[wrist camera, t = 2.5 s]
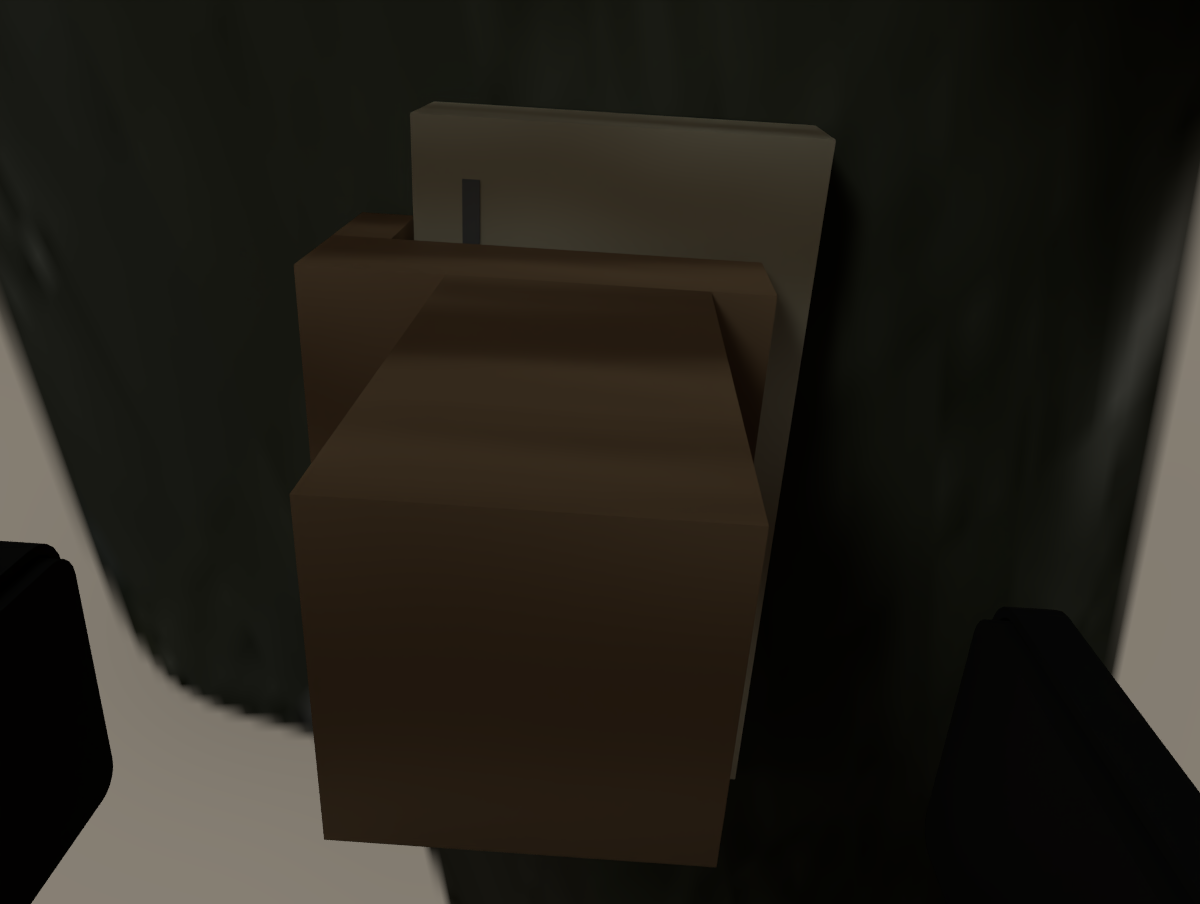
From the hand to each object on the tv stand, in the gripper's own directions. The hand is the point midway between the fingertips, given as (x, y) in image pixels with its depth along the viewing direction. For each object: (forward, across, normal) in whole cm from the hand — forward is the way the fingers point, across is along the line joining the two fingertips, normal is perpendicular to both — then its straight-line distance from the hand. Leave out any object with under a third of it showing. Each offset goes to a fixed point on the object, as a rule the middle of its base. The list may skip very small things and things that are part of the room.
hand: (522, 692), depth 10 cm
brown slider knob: (+10, 0, -1) cm, 10 cm away
